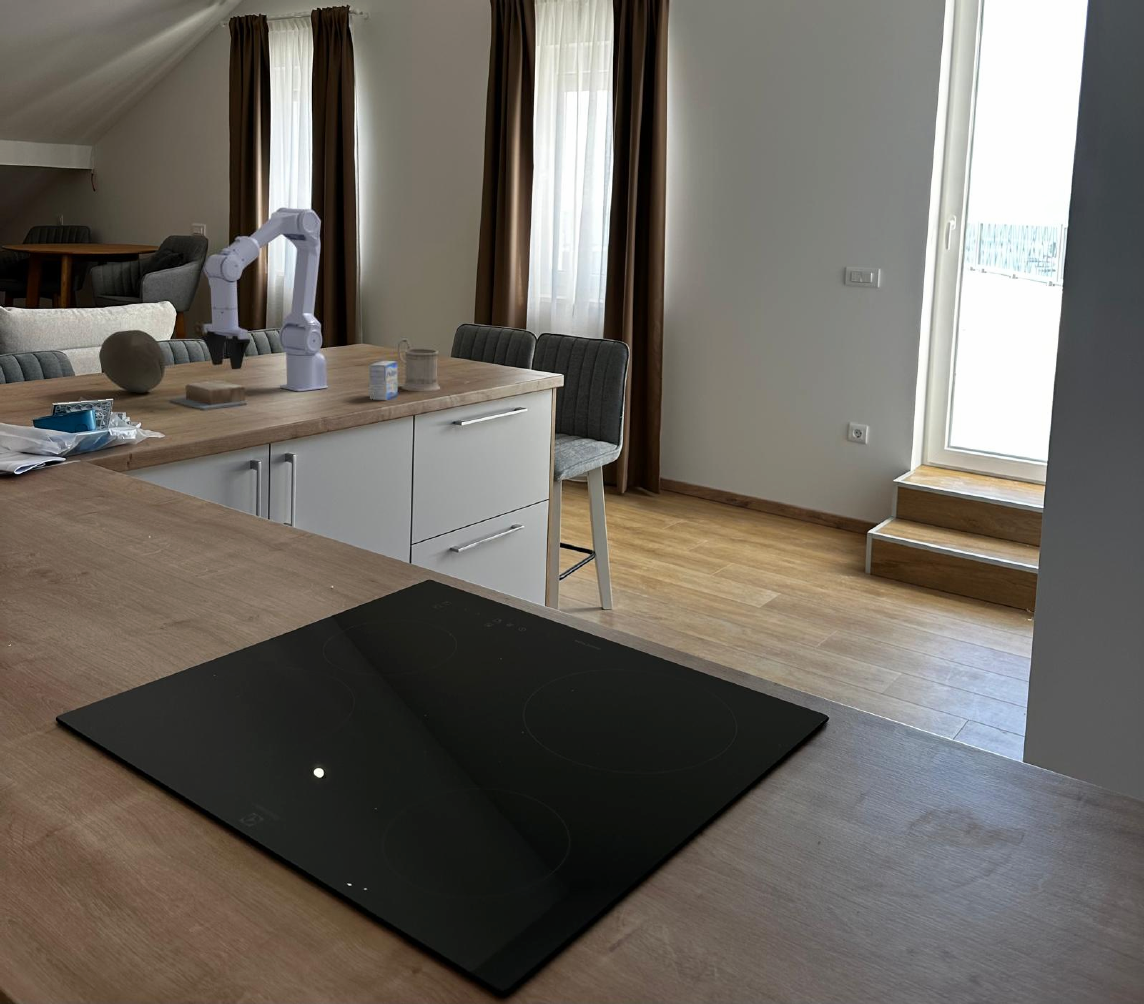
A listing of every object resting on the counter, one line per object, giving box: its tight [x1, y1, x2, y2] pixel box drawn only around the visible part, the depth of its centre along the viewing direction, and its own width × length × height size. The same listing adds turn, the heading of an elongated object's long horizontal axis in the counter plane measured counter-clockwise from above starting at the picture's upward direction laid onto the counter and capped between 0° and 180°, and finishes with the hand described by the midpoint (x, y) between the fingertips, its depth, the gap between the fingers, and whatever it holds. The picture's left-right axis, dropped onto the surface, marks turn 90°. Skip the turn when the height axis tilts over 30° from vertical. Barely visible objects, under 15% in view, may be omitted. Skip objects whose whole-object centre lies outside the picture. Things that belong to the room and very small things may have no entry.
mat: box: [169, 396, 247, 411], centre depth 257 cm, size 11×14×1 cm
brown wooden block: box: [185, 379, 246, 405], centre depth 258 cm, size 4×10×9 cm
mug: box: [397, 338, 441, 392], centre depth 289 cm, size 14×10×12 cm
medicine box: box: [368, 360, 398, 402], centre depth 272 cm, size 8×4×9 cm, turn 168°
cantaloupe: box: [98, 329, 166, 394], centre depth 263 cm, size 14×14×15 cm
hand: (226, 366), depth 259 cm, fingers open, 7 cm apart
